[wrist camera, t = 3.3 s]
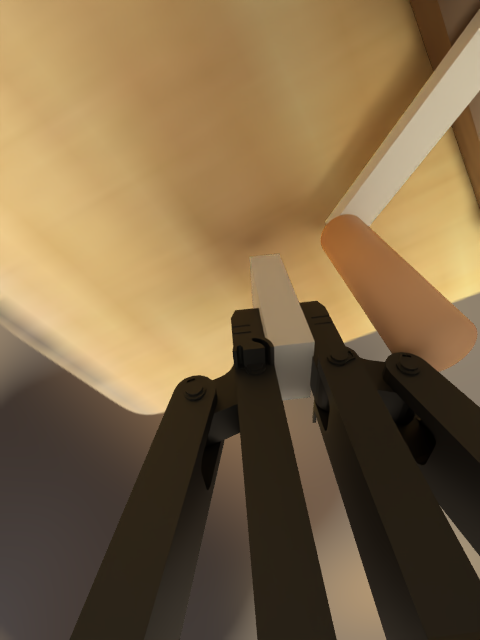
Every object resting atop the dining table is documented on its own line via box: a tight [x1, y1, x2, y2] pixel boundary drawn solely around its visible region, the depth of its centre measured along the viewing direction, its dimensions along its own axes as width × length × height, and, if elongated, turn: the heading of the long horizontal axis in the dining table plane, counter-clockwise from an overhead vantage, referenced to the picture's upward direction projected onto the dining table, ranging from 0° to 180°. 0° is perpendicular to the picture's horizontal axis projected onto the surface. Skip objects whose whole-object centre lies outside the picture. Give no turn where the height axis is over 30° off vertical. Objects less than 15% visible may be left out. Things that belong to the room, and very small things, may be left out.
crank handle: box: [321, 9, 480, 372], centre depth 12 cm, size 2×12×10 cm, turn 150°
